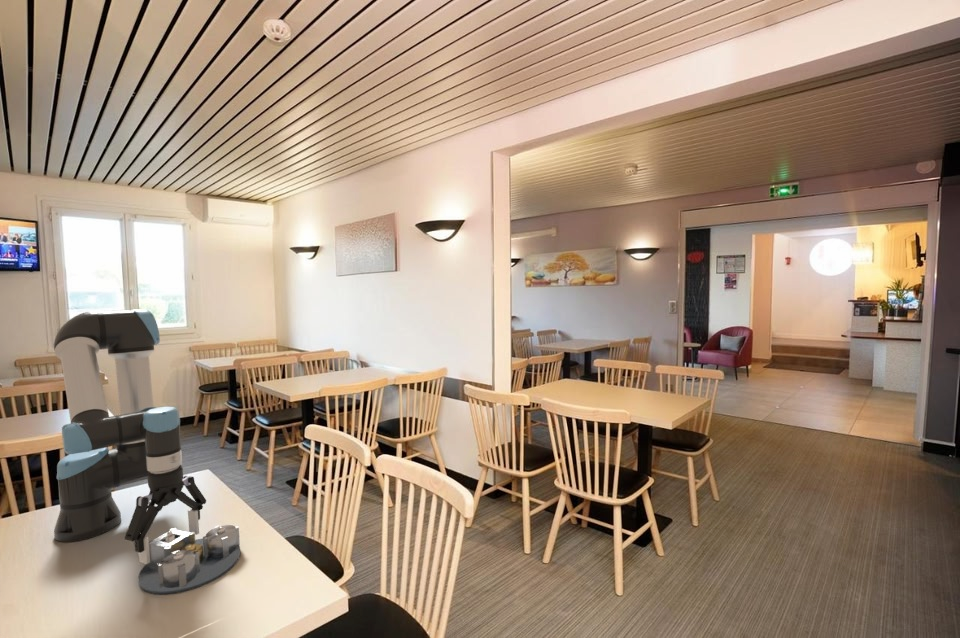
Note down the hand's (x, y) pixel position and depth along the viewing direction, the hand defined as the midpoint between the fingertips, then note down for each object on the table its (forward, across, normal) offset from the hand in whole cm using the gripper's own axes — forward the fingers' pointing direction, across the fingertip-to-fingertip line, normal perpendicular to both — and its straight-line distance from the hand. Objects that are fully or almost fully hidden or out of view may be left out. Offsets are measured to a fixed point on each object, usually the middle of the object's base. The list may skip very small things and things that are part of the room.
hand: (170, 547), depth 119 cm
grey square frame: (+2, 0, 0) cm, 2 cm away
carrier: (+4, 0, -7) cm, 8 cm away
